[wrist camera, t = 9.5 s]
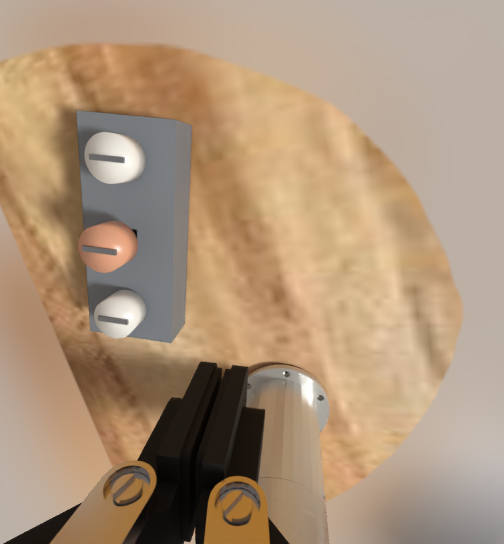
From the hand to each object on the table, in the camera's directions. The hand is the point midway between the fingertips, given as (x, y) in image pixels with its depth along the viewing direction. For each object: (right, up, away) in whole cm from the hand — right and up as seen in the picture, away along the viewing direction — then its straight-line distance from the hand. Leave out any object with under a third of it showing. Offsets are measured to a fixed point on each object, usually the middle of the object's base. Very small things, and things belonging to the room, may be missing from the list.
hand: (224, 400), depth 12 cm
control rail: (-12, +10, +29) cm, 33 cm away
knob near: (-11, +17, +24) cm, 31 cm away
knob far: (-13, +1, +29) cm, 32 cm away
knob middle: (-12, +8, +25) cm, 29 cm away
